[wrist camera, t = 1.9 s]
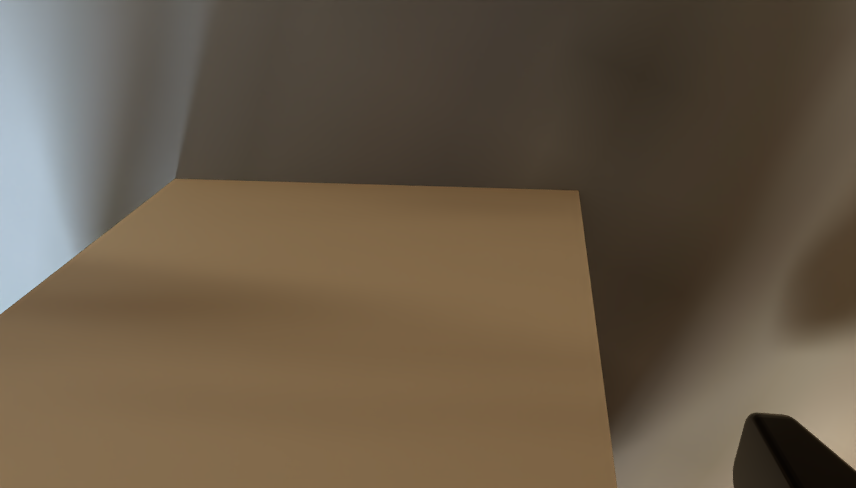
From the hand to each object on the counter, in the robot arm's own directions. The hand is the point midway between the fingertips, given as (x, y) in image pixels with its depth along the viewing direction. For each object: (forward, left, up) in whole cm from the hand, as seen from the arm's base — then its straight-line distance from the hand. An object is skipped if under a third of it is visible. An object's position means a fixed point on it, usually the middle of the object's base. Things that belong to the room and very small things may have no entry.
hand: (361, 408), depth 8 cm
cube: (0, 0, -1) cm, 1 cm away
